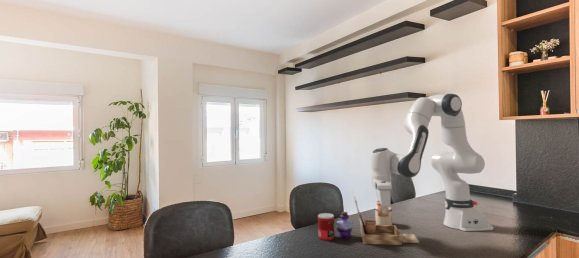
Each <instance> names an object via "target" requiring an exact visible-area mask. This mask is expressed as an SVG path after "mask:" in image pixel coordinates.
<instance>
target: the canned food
mask: <svg viewBox="0 0 579 258" xmlns="http://www.w3.org/2000/svg"><path fill="white" fill-rule="evenodd" d="M317 229H318V230H317V231H318V235H317V236H318V238H319V239H320V240H322V241H332V240H335V237H336V236H335V215H334V214H333V213H329V212H328V213H327V212H323V213H322V212H321V213H319V214H318V215H317Z"/></svg>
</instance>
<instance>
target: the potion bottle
mask: <svg viewBox="0 0 579 258" xmlns="http://www.w3.org/2000/svg"><path fill="white" fill-rule="evenodd" d="M339 218H340V219H341V220H337V221H336V222H335V224H336V231H337V232H338V235H339V238H340V239H342V240H343V239H345V240H349V239H351V236H352V230H353V229H354V228H353V227H354V222H353V221H351V220H349V219H350V214H348V212H347V211H341V212H340V215H339Z"/></svg>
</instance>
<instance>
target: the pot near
mask: <svg viewBox="0 0 579 258" xmlns="http://www.w3.org/2000/svg"><path fill="white" fill-rule="evenodd" d="M376 206H377V209H378V216H380V217H388V216H389V211H388V207H387V208H386V213H382V205H381V204H380V202H379V200H376Z"/></svg>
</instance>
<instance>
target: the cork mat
mask: <svg viewBox="0 0 579 258" xmlns="http://www.w3.org/2000/svg"><path fill="white" fill-rule="evenodd" d="M400 234H401V235H402V244H403V243H404V244H405V243H407V244H409V243H410V244H414V243H415V244H420V241H419V239H418V238H417V236H416V235H415V234H414V233H400Z"/></svg>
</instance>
